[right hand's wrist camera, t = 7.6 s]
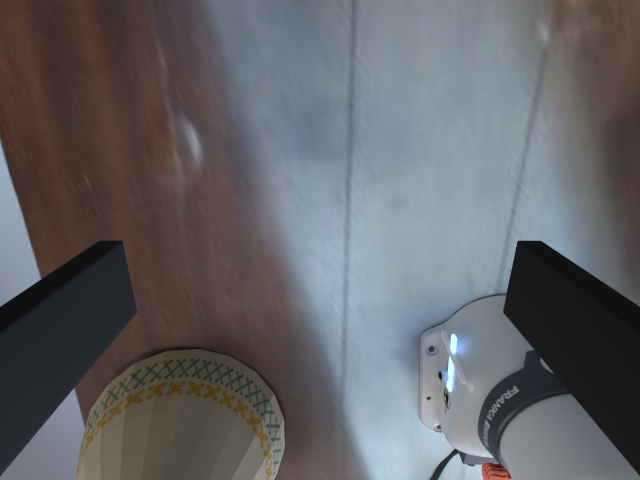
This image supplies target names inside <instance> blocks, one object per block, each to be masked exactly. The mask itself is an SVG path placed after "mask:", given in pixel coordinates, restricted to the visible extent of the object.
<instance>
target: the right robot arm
mask: <svg viewBox="0 0 640 480" xmlns="http://www.w3.org/2000/svg"><path fill="white" fill-rule="evenodd" d="M136 313H137V309H136V304H135V299H134V294H133V290H132V285H131V280H130V275H129V271H128V266H127V261H126V256H125V251H124V247H123V242H122V241H98V242H97V243H95V244H94V245H92V246H91V247H89V248H88V249H86V250H85V251H83V252H82V253H80V254H79V255H77V256H76V257H74V258H73V259H71V260H70V261H68V262H67V263H65V264H64V265H62V266H61V267H59V268H58V269H56V270H55V271H53V272H52V273H50V274H49V275H47V276H46V277H44V278H43V279H41V280H40V281H38V282H37V283H35V284H34V285H32V286H31V287H29V288H28V289H26V290H25V291H23V292H22V293H20V294H19V295H17V296H16V297H14V298H13V299H11V300H10V301H8V302H7V303H5V304H4V305H2V306H1V307H0V476H1V475H2V474H3V472H4V471H5V470H6V469H7V468H8V466H9V465H10V464H11V463H12V462H13V460H14V459H15V458H16V457H17V456H18V454H19V453H20V452H21V451H22V450H23V448H24V447H25V446H26V445H27V444H28V442H29V441H30V440H31V439H32V438H33V436H34V435H35V434H36V433H37V432H38V430H39V429H40V428H41V427H42V426H43V424H44V423H45V422H46V421H47V420H48V418H49V417H50V416H51V415H52V414H53V412H54V411H55V410H56V409H57V408H58V406H59V405H60V404H61V403H62V402H63V400H64V399H65V398H66V397H67V396H68V394H69V393H70V392H71V391H72V390H73V388H74V387H75V386H76V385H77V384H78V383H79V381H80V380H81V379H82V378H83V377H84V375H85V374H86V373H87V372H88V371H89V369H90V368H91V367H92V366H93V365H94V363H95V362H96V361H97V360H98V359H99V357H100V356H101V355H102V354H103V353H104V351H105V350H106V349H107V348H108V347H109V345H110V344H111V343H112V342H113V341H114V339H115V338H116V337H117V336H118V335H119V333H120V332H121V331H122V330H123V329H124V327H125V326H126V325H127V324H128V323H129V321H130V320H131V319H132V318H133V317H134V315H135V314H136ZM503 313H504V314H505V315H506V317H507V318H508V319H509V320H510V321H511V323H512V324H513V325H514V326H515V327H516V329H517V330H518V331H519V332H520V333H521V335H522V336H523V337H524V338H525V339H526V341H527V342H528V343H529V344H530V345H531V347H532V348H533V349H534V350H535V351H536V353H537V354H538V355H539V356H540V357H541V359H542V360H543V361H544V362H545V363H546V365H547V366H548V367H549V368H550V369H551V371H552V372H553V373H554V374H555V375H556V377H557V378H558V379H559V380H560V381H561V383H562V384H563V385H564V386H565V387H566V389H567V390H568V391H569V392H570V393H571V394H572V396H573V397H574V398H575V399H576V400H577V402H578V403H579V404H580V405H581V406H582V408H583V409H584V410H585V411H586V412H587V414H588V415H589V416H590V417H591V418H592V420H593V421H594V422H595V423H596V424H597V426H598V427H599V428H600V429H601V430H602V432H603V433H604V434H605V435H606V436H607V438H608V439H609V440H610V441H611V442H612V444H613V445H614V446H615V447H616V448H617V450H618V451H619V452H620V453H621V454H622V456H623V457H624V458H625V459H626V460H627V462H628V463H629V464H630V465H631V466H632V468H633V469H634V470H635V471H636V472H637V474H638V475H639V476H640V307H639V306H638V305H636V304H635V303H633V302H632V301H630V300H629V299H627V298H626V297H624V296H623V295H621V294H620V293H618V292H617V291H615V290H614V289H612V288H611V287H609V286H608V285H606V284H605V283H603V282H602V281H600V280H599V279H597V278H596V277H594V276H593V275H591V274H590V273H588V272H587V271H585V270H584V269H582V268H581V267H579V266H578V265H576V264H575V263H573V262H572V261H570V260H569V259H567V258H566V257H564V256H563V255H561V254H560V253H558V252H557V251H555V250H554V249H552V248H551V247H549V246H548V245H546V244H545V243H543V242H542V241H518V242H517V247H516V251H515V256H514V261H513V266H512V271H511V275H510V280H509V285H508V290H507V294H506V299H505V304H504V309H503Z"/></svg>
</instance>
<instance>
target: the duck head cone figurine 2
mask: <svg viewBox="0 0 640 480" xmlns="http://www.w3.org/2000/svg"><path fill="white" fill-rule="evenodd" d="M284 448H285V438H284V418H283V416H282V413H281V410H280V408H279V405H278V402H277V400H276V397H275V394H274V393H273V392H272V390H271V389H270V388H269V387H268V386H267V384H266V383H265V382H264V381H263V380H262V378H261V377H260V376H259V375H258V374H257V373H256V371H254V370H252V369H251V368H249V367H247V366H246V365H244V364H242V363H241V362H239V361H237V360H236V359H234V358H232V357H231V356H228V355H223V354H219V353H215V352H210V351H206V350H202V349H191V350H176V351H166V352H163V353H160V354H158V355H155V356H152V357H150V358H147V359H144V360H142V361H139V362H136V363H135V364H133V365H132V366H131V367H129V368H128V369H127V370H125V371H124V372H123V373H122V374H120V375H119V376H118V377H116V378H115V379H114V380H112V381H111V382H110V383H109V384H108V385H107V387H106V388H105V390H104V391H103V393H102V394H101V395H100V397H99V398H98V400H97V401H96V403H95V404H94V406H93V407H92V408H91V410H90V414H89V417H88V421H87V424H86V428H85V431H84V435H83V439H82V443H81V448H80V454H79V461H78V469H77V480H274V479H275V477H276V474H277V471H278V468H279V465H280V461H281V458H282V455H283V452H284Z"/></svg>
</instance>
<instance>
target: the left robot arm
mask: <svg viewBox="0 0 640 480" xmlns="http://www.w3.org/2000/svg"><path fill="white" fill-rule="evenodd" d="M505 299H506V295H498V296H491V297H486V298H483V299H480V300H477V301H475V302H472V303H470V304H468V305H467V306H465V307H463V308H462V309H460V310H459V311H458V312H456V313H455V314H454V315H453V316H452V317H451V318H450V319H448V320H447V321H446V322H444V323H443V324H440V325H438V326H435V327H433V328H430V329H428V330H426V331H425V332H424V333H423V334H422V335H421V338H420V379H419V419H420V421H421V423H422V424H423V425H424V426H425V427H427V428H428V429H430V430H433V431H435V432H438V433H441V434H444V435H445V438H446V439H447V441H448V442H449V444H450V445H452V446H453V447H454V448H455V449H454V450H453V451H452V453H451V454H450V455H449V456H448V457H446V458H445V459H444V460H443V461H442V462H441V463H440V464H439V466H438V467H437V469H436V471H435V472H434V474H433V476H432V478H431V479H430V480H438V478H439V476H440V474H441V473H442V471H443V469H444V468H445V466H446V465H447V463H448V462H449V461H450V459H451V458H452V457H453V456H455V455H456V454H458V453H459V455H460V457H461V460H462V462H463V464H468V465H469V466H475V465H476V464H477V465H482V476H483V479H484V480H640V476H639V475H638V474H637V472H636V471H635V470H634V469H633V468H632V466H631V465H630V464H629V463H628V462H627V460H626V459H625V458H624V457H623V456H622V454H621V453H620V452H619V451H618V450H617V448H616V447H615V446H614V445H613V444H612V442H611V441H610V440H609V439H608V438H607V436H606V435H605V434H604V433H603V432H602V430H601V429H600V428H599V427H598V426H597V424H596V423H595V422H594V421H593V420H592V418H591V417H590V416H589V415H588V414H587V412H586V411H585V410H584V409H583V408H582V406H581V405H580V404H579V403H578V402H577V400H576V399H575V398H574V397H573V396H572V394H571V393H570V392H569V391H568V390H567V389H566V387H565V386H564V385H563V384H562V383H561V381H560V380H559V379H558V378H557V377H556V375H555V374H554V373H553V372H552V371H551V369H550V368H549V367H548V366H547V365H546V363H545V362H544V361H543V360H542V359H541V357H540V356H539V355H538V354H537V353H536V351H535V350H534V349H533V348H532V347H531V345H530V344H529V343H528V342H527V341H526V339H525V338H524V337H523V336H522V335H521V333H520V332H519V331H518V330H517V329H516V327H515V326H514V325H513V324H512V323H511V321H510V320H509V319H508V318H507V317H506V315H505V314H504V313H503V309H504V304H505ZM431 346H433V347H432V348H429V347H431Z"/></svg>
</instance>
